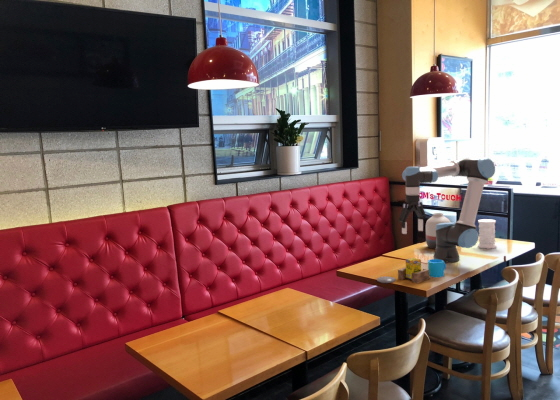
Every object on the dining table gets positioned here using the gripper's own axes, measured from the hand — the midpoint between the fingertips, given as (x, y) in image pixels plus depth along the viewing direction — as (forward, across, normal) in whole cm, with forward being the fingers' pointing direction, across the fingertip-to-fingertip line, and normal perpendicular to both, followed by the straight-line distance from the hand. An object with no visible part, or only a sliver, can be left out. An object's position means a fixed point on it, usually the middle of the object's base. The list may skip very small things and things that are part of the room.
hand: (412, 232), depth 247 cm
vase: (+22, -62, -29) cm, 72 cm away
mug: (+24, -9, +10) cm, 28 cm away
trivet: (+25, +18, -3) cm, 31 cm away
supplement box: (+25, +6, +6) cm, 26 cm away
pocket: (+24, +6, +6) cm, 26 cm away
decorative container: (+22, -84, -6) cm, 87 cm away
